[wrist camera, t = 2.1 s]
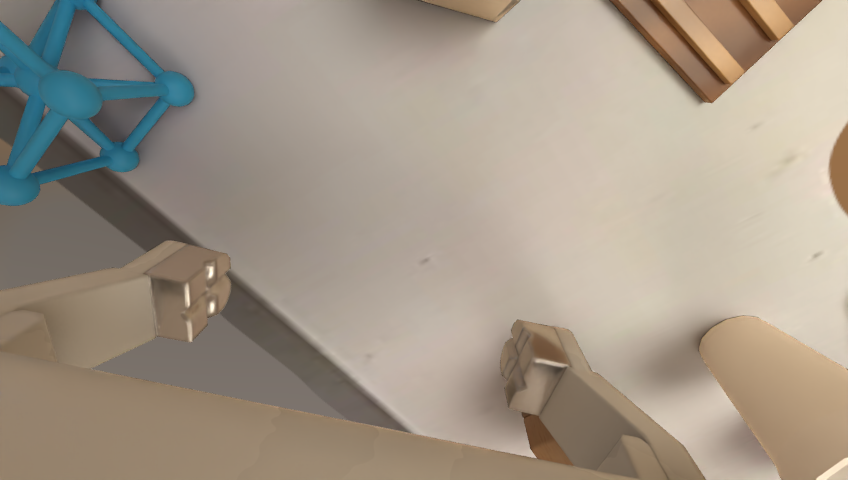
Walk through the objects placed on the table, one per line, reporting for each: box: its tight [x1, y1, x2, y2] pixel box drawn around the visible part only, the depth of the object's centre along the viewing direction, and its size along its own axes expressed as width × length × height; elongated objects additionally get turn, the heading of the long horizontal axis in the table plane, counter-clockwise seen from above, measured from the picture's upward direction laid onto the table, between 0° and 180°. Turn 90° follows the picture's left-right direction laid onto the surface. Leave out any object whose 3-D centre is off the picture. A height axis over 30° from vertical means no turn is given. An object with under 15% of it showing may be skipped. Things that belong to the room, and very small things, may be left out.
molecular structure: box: [0, 0, 194, 206], centre depth 21 cm, size 10×10×10 cm
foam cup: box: [699, 316, 848, 480], centre depth 28 cm, size 10×9×13 cm
